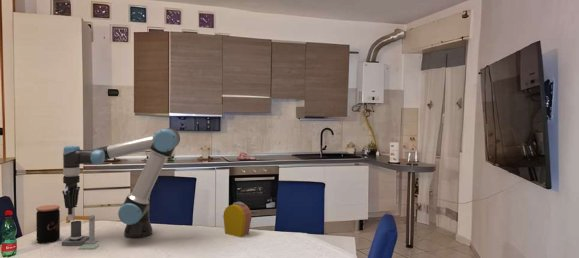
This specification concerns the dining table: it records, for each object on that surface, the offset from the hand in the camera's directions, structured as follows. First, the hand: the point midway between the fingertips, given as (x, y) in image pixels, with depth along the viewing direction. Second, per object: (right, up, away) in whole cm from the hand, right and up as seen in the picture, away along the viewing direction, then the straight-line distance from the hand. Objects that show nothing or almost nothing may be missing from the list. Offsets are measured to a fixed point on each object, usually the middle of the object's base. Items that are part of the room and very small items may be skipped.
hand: (71, 220), depth 206 cm
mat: (+12, -13, -5) cm, 18 cm away
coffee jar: (-15, -12, +4) cm, 19 cm away
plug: (+2, -12, +2) cm, 13 cm away
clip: (+4, -2, +2) cm, 5 cm away
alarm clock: (+84, -14, +23) cm, 88 cm away
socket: (+4, -12, +2) cm, 13 cm away
